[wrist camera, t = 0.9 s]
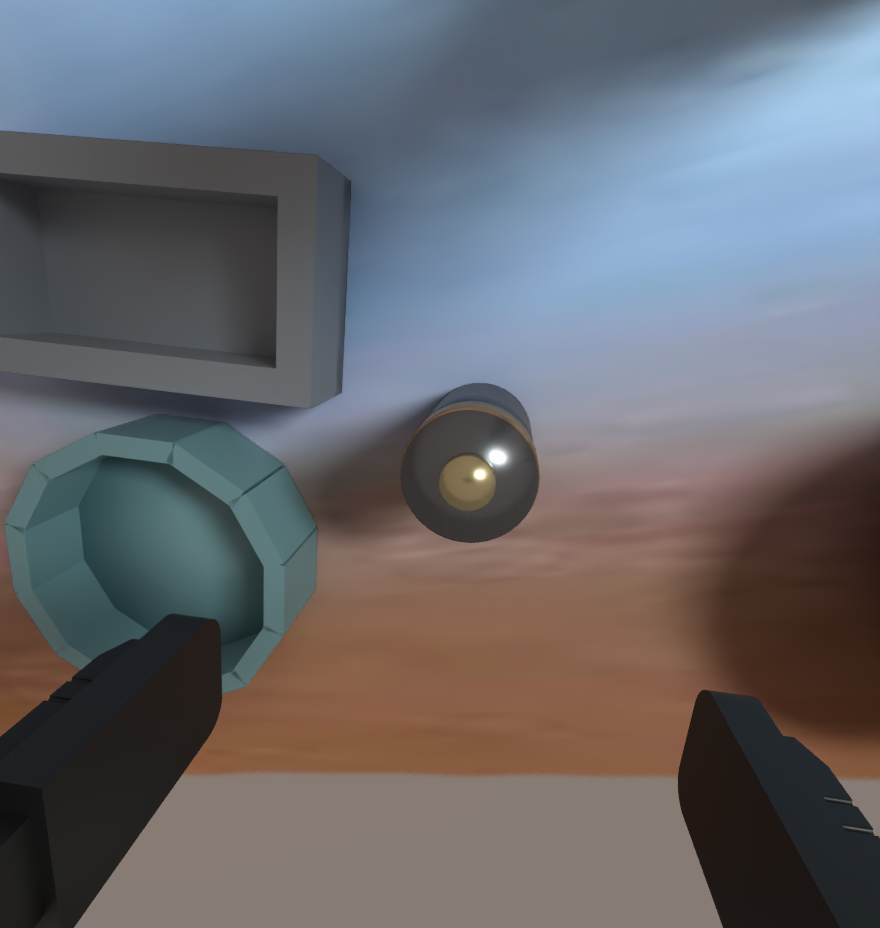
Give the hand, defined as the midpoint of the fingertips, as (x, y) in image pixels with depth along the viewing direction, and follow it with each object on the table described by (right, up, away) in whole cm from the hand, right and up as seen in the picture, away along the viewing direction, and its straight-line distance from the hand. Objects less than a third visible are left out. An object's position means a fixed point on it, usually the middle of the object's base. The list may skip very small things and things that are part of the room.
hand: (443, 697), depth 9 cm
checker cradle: (-12, +13, +17) cm, 25 cm away
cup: (-14, 0, +21) cm, 25 cm away
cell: (+2, +5, +18) cm, 19 cm away
